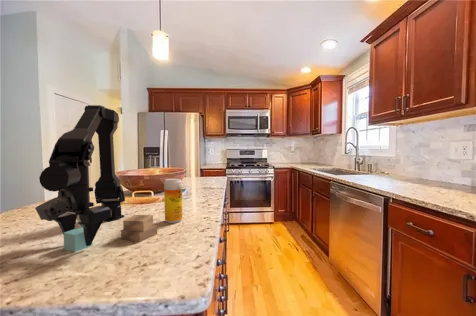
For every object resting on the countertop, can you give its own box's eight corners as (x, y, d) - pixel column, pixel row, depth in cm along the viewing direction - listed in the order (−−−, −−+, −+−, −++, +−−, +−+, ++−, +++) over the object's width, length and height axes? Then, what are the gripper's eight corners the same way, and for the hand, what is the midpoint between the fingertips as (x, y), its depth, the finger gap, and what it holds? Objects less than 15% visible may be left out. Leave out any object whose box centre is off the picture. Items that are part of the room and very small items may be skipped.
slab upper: (123, 231, 68) (123, 220, 68) (134, 224, 74) (134, 214, 74) (143, 231, 67) (143, 221, 67) (153, 224, 73) (152, 215, 73)
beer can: (177, 224, 82) (177, 180, 81) (161, 223, 83) (160, 180, 82) (185, 218, 88) (184, 178, 87) (170, 218, 89) (169, 178, 88)
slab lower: (121, 240, 69) (120, 230, 69) (139, 232, 75) (139, 223, 75) (139, 243, 66) (139, 233, 66) (157, 235, 73) (157, 225, 73)
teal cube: (64, 249, 62) (63, 232, 62) (81, 243, 66) (80, 227, 66) (75, 252, 60) (74, 234, 60) (92, 245, 64) (91, 229, 64)
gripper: (18, 187, 59) (21, 249, 59) (66, 192, 51) (69, 263, 52) (66, 181, 69) (68, 234, 70) (112, 185, 62) (113, 244, 62)
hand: (78, 243), depth 63 cm, fingers open, 8 cm apart
